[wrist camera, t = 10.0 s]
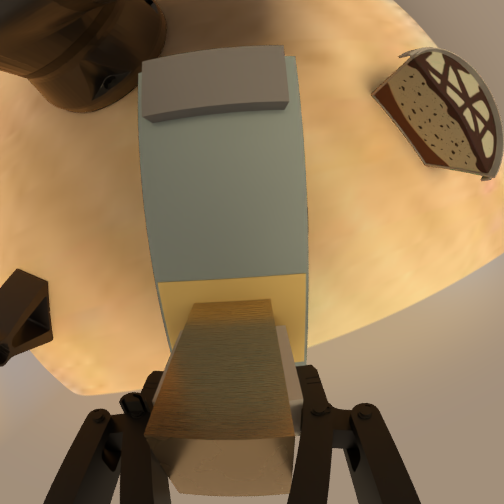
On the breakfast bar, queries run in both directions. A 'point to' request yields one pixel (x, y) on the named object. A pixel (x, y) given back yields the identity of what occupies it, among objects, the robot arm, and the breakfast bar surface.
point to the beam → (225, 183)
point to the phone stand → (23, 315)
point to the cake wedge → (445, 112)
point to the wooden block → (225, 405)
